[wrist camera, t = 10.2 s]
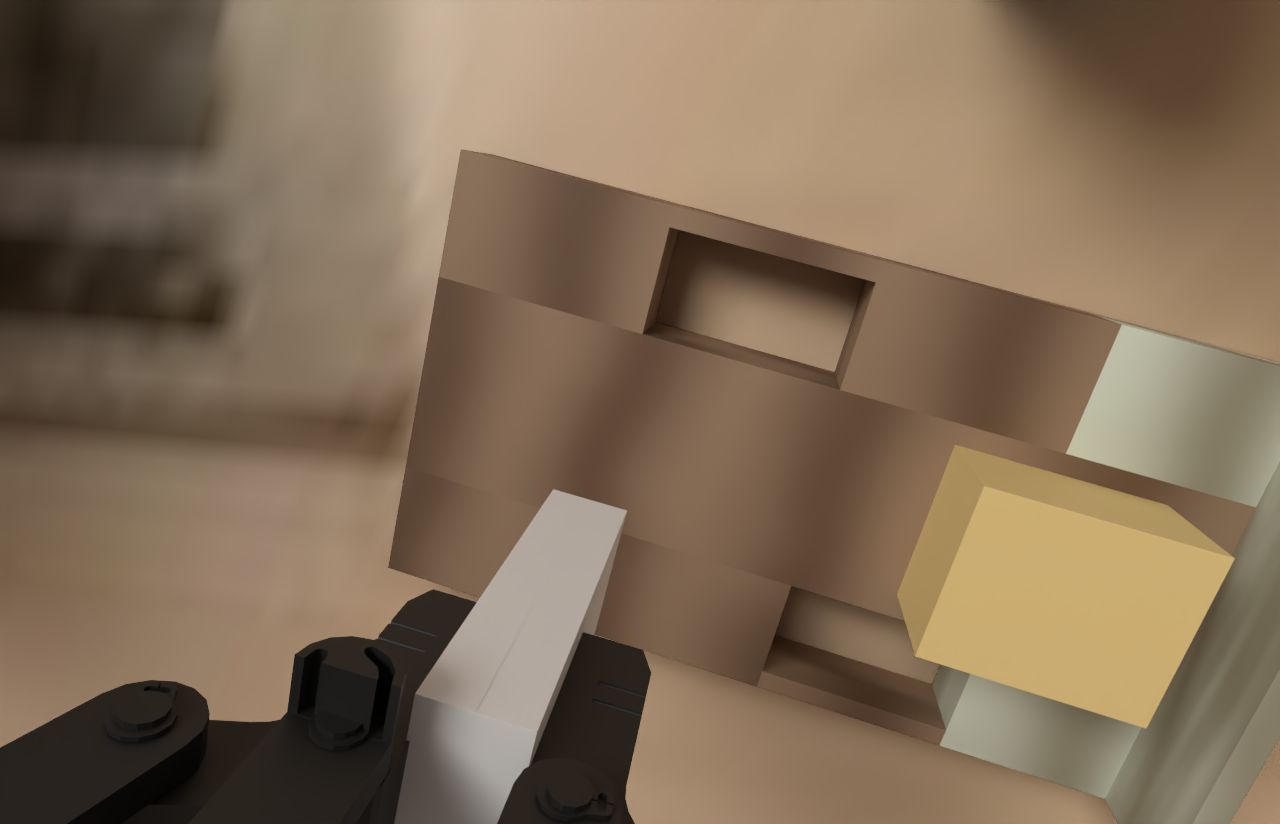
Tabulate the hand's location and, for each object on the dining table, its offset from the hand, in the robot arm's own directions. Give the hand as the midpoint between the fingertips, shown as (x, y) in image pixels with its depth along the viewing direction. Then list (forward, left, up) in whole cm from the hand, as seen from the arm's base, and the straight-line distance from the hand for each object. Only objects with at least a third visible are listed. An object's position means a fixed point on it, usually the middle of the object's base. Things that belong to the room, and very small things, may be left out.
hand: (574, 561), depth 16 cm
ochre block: (+12, 0, -9) cm, 15 cm away
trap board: (+5, 0, -12) cm, 13 cm away
